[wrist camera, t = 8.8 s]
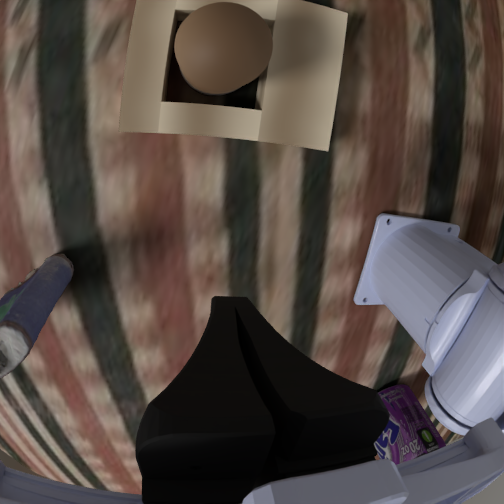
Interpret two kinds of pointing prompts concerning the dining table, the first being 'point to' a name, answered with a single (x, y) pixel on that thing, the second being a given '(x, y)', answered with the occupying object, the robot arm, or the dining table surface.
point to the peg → (222, 47)
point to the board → (269, 85)
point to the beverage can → (406, 427)
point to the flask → (30, 309)
